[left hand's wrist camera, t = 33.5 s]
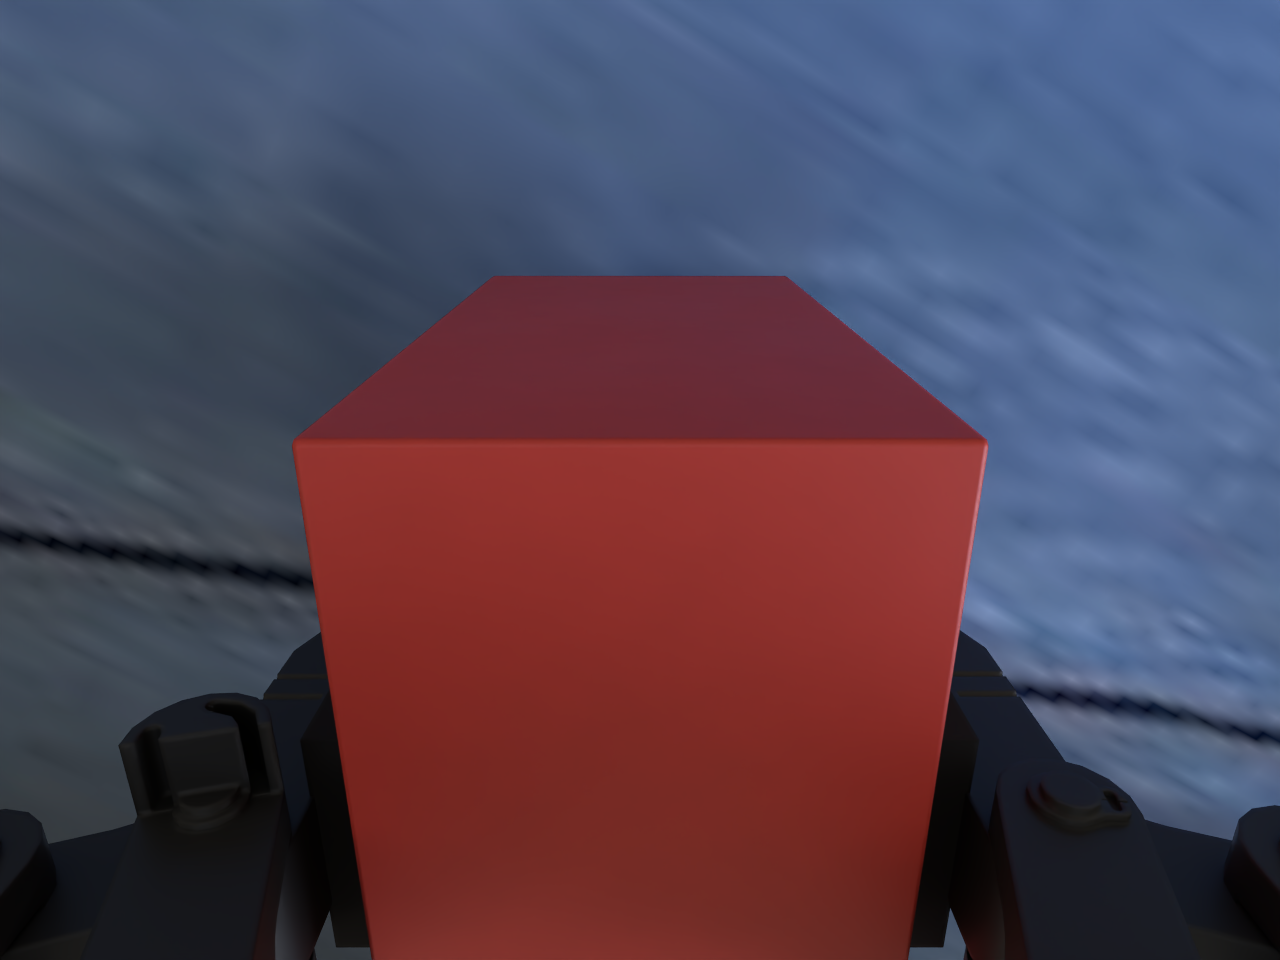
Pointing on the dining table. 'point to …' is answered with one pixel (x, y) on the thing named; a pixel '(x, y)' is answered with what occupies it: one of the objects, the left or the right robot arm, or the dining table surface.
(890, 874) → the block
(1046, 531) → the dining table surface
